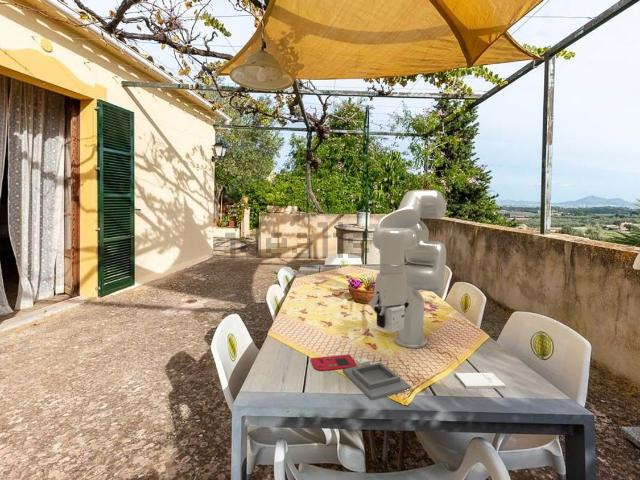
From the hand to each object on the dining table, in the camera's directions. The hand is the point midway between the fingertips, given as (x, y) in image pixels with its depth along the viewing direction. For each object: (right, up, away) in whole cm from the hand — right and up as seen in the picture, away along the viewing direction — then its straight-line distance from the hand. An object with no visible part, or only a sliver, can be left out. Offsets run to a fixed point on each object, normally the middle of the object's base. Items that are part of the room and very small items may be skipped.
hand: (390, 324), depth 108 cm
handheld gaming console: (-17, -18, +12) cm, 28 cm away
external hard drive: (+28, -19, 0) cm, 34 cm away
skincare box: (0, -2, 0) cm, 2 cm away
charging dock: (-5, -18, +1) cm, 19 cm away
